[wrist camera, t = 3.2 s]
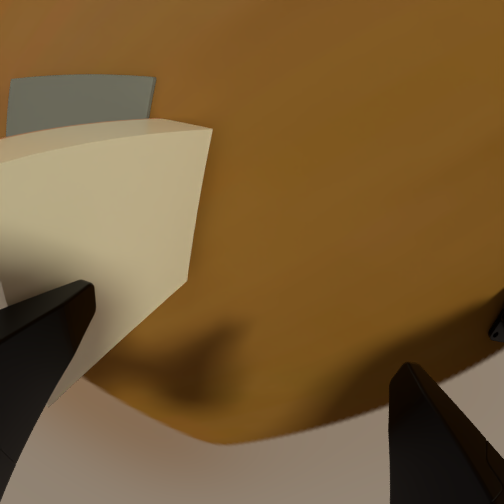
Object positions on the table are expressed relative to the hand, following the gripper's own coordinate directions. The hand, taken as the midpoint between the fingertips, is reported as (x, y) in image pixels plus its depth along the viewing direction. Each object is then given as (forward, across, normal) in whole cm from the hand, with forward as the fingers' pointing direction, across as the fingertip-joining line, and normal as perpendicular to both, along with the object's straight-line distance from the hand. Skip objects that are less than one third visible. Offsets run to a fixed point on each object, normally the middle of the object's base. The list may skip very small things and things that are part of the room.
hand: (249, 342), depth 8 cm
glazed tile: (+8, +5, 0) cm, 9 cm away
